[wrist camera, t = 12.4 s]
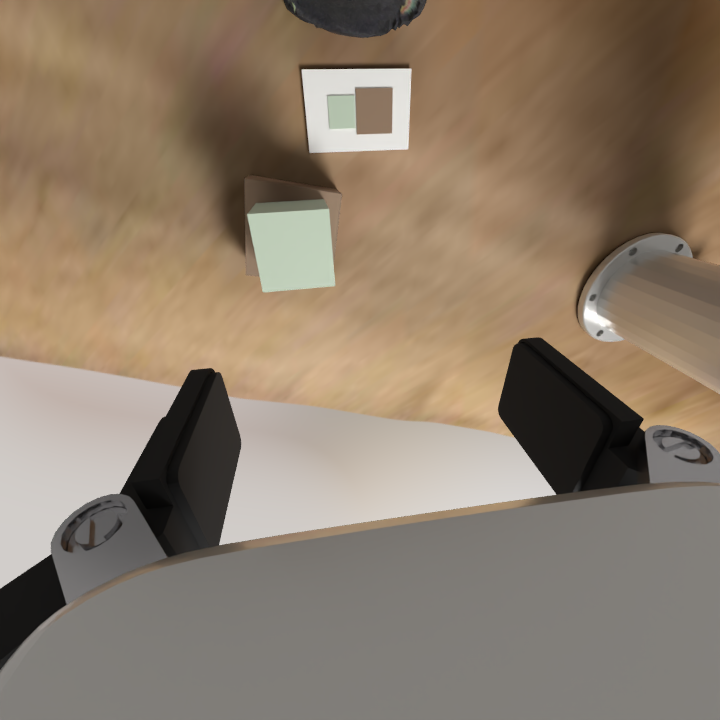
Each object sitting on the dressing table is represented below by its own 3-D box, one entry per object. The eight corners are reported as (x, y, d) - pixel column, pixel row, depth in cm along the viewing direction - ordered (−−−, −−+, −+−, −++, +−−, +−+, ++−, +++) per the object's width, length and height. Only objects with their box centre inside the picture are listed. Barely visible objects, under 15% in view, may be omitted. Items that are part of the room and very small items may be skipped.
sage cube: (324, 199, 25) (329, 208, 21) (329, 265, 28) (335, 286, 23) (255, 203, 24) (246, 214, 20) (268, 270, 27) (262, 292, 23)
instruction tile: (410, 69, 25) (411, 68, 24) (407, 149, 27) (408, 149, 27) (301, 70, 24) (301, 69, 23) (309, 152, 26) (309, 152, 26)
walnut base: (336, 188, 28) (342, 194, 25) (327, 269, 32) (331, 283, 28) (250, 174, 27) (244, 178, 23) (251, 261, 30) (245, 275, 27)
